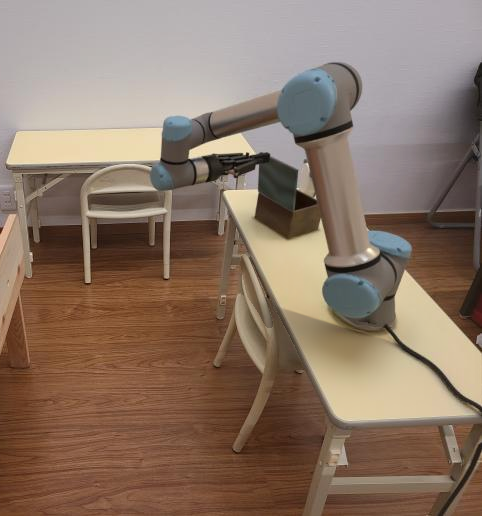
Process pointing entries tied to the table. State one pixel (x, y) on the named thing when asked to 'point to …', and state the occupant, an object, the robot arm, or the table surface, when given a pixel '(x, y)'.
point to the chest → (289, 215)
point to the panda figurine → (306, 180)
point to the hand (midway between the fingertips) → (267, 157)
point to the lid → (278, 182)
